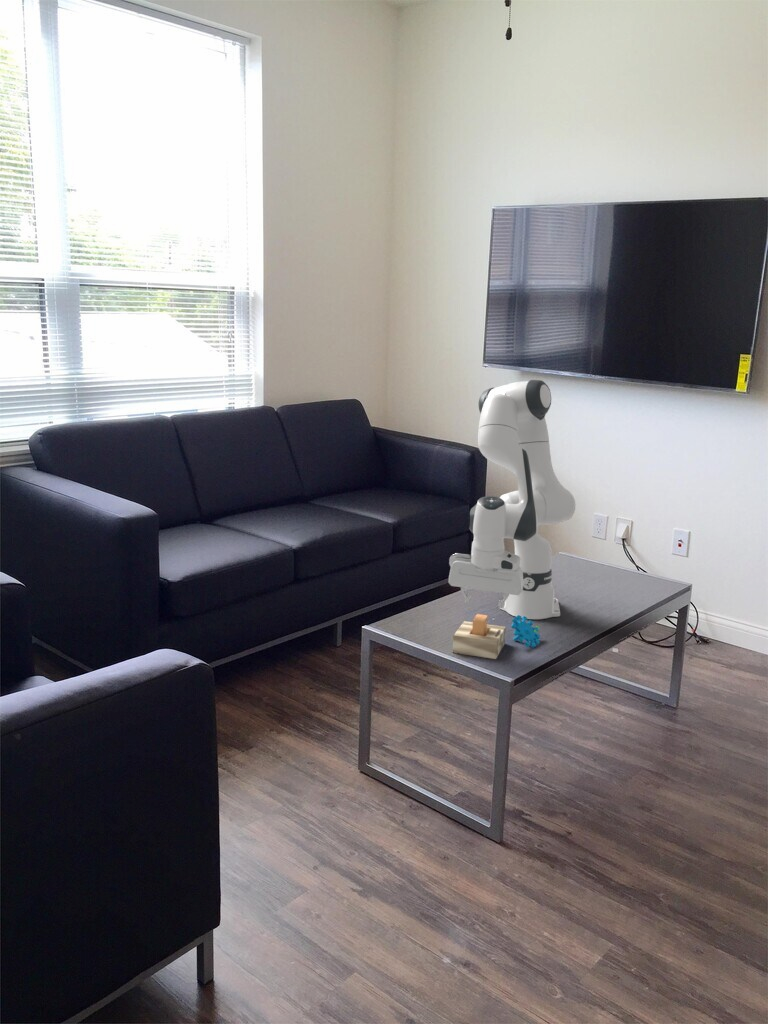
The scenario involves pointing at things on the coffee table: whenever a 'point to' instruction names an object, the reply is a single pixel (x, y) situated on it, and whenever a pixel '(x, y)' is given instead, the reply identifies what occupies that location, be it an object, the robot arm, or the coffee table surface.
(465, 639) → the block
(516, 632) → the gear
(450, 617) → the coffee table surface
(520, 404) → the robot arm
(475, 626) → the key peg
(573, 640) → the coffee table surface
